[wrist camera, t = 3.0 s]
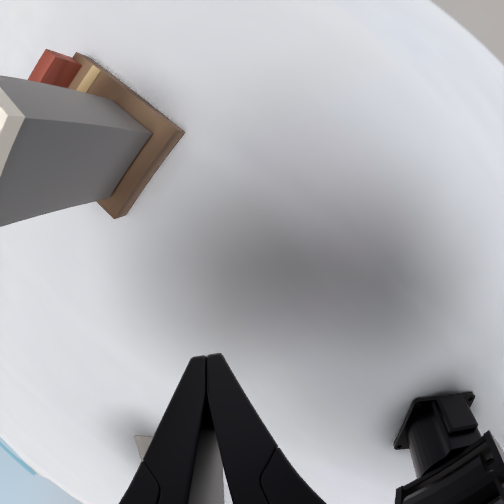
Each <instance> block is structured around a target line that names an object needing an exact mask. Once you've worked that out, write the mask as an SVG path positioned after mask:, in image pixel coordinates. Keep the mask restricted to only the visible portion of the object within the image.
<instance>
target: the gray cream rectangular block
mask: <svg viewBox="0 0 504 504" xmlns="http://www.w3.org/2000/svg"><path fill="white" fill-rule="evenodd" d="M151 135H152V133H151V132H150V131H149V130H147V129H146V128H145V127H144V126H143V125H142V124H140V123H139V122H138V121H137V120H136V119H134V118H133V117H132V116H131V115H130V114H128V113H127V112H126V111H125V110H124V109H122V108H121V107H120V106H119V105H118V104H116V103H115V102H114V101H113V100H111V99H107V98H104V97H100V96H96V95H92V94H88V93H84V92H80V91H76V90H72V89H68V88H63V87H59V86H54V85H50V84H45V83H40V82H35V81H30V80H24V79H19V78H13V77H7V76H0V227H1V226H5V225H8V224H11V223H15V222H18V221H21V220H25V219H28V218H32V217H35V216H39V215H43V214H46V213H50V212H54V211H58V210H62V209H65V208H69V207H73V206H77V205H82V204H86V203H90V202H94V201H99V200H103V199H107V198H109V197H110V196H111V194H112V192H113V191H114V189H115V188H116V186H117V184H118V183H119V181H120V180H121V178H122V177H123V175H124V174H125V172H126V171H127V169H128V168H129V166H130V165H131V163H132V162H133V160H134V159H135V157H136V156H137V154H138V153H139V151H140V150H141V148H142V147H143V146H144V144H145V143H146V141H147V140H148V139H149V137H150V136H151Z"/></svg>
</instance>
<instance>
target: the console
mask: <svg viewBox="0 0 504 504" xmlns="http://www.w3.org/2000/svg"><path fill="white" fill-rule="evenodd" d="M28 80H30V81H35V82H40V83H45V84H50V85H54V86H59V87H63V88H68V89H72V90H76V91H80V92H84V93H88V94H92V95H96V96H100V97H104V98H107V99H111V100H113V101H114V102H115V103H116V104H118V105H119V106H120V107H121V108H122V109H124V110H125V111H126V112H127V113H128V114H130V115H131V116H132V117H133V118H134V119H136V120H137V121H138V122H139V123H140V124H142V125H143V126H144V127H145V128H146V129H147V130H149V131H150V132H151V133H152V135H151V136H150V137H149V139H148V140H147V141H146V143H145V144H144V146H143V147H142V148H141V150H140V151H139V153H138V154H137V156H136V157H135V159H134V160H133V162H132V163H131V165H130V166H129V168H128V169H127V171H126V172H125V174H124V175H123V177H122V178H121V180H120V181H119V183H118V184H117V186H116V188H115V189H114V191H113V192H112V194H111V196H110V197H109V198H107V199H103V200H99V201H97V203H98V204H99V205H100V206H101V207H102V208H103V209H104V210H105V211H106V212H107V213H108V214H109V215H110V216H111V217H113V218H114V219H116V218H119V217H122V216H125V215H126V214H127V212H128V211H129V209H130V208H131V206H132V205H133V203H134V202H135V200H136V199H137V197H138V196H139V194H140V193H141V191H142V190H143V189H144V187H145V186H146V184H147V183H148V181H149V180H150V179H151V177H152V176H153V174H154V173H155V172H156V170H157V169H158V167H159V166H160V165H161V163H162V162H163V161H164V159H165V158H166V157H167V155H168V154H169V153H170V151H171V150H172V149H173V147H174V146H175V145H176V143H177V142H178V141H179V140H180V138H181V137H182V136H183V134H184V133H185V132H184V131H183V130H181V129H180V128H179V127H178V126H177V125H175V124H174V123H173V122H172V121H170V120H169V119H168V118H167V117H165V116H164V115H163V114H162V113H160V112H159V111H158V110H157V109H155V108H154V107H153V106H152V105H150V104H149V103H148V102H147V101H145V100H144V99H143V98H142V97H140V96H139V95H138V94H136V93H135V92H134V91H133V90H131V89H130V88H129V87H127V86H126V85H125V84H123V83H122V82H121V81H120V80H118V79H117V78H116V77H114V76H113V75H112V74H110V73H109V72H108V71H106V70H105V69H104V68H102V67H101V66H100V65H98V64H97V63H96V62H94V61H93V60H92V59H90V58H89V57H87V56H85V55H82V54H80V53H77V52H76V53H75V55H74V56H73V58H71V57H69V56H66V55H63V54H60V53H57V52H54V51H51V50H48V49H46V50H45V51H44V53H43V54H42V56H41V58H40V59H39V61H38V63H37V64H36V66H35V68H34V70H33V71H32V73H31V75H30V77H29V78H28Z"/></svg>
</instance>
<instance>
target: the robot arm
mask: <svg viewBox="0 0 504 504" xmlns="http://www.w3.org/2000/svg"><path fill="white" fill-rule="evenodd" d="M474 399H475V395H474V394H473V393H472V392H469V393H462V394H455V395H447V396H438V397H427V398H418V399H416V400H414V401H413V403H412V405H411V407H410V410H409V412H408V414H407V417H406V419H405V421H404V424H403V426H402V428H401V430H400V432H399V434H398V436H397V439H396V441H395V443H394V449H396V450H400V449H410V452H411V456H412V460H413V464H414V468H415V471H416V475H417V479H416V480H414V481H412V482H411V483H409V484H407V485H405V486H401V487H399V488H397V489H396V497H395V504H504V452H503V450H502V449H501V447H500V445H499V444H498V442H497V441H496V439H495V438H494V436H493V435H492V434H491V432H490V431H487V432H486V433H485V434H484V436H481V434H480V432H479V430H478V428H477V427H478V423H477V421H476V419H475V418H474V416H473V414H472V412H471V410H470V406H471V405H472V403H473V401H474ZM417 404H418V405H417ZM223 468H224V472H225V475H226V479H227V483H228V487H229V491H230V494H231V498H232V501H233V504H326V503H325V502H324V501H323V500H322V499H321V498H320V497H319V496H318V495H317V494H316V493H315V492H314V491H313V490H312V489H311V488H310V487H309V485H308V484H307V483H306V482H305V481H304V480H303V479H302V478H301V477H300V475H299V474H298V473H297V472H296V470H295V469H294V468H293V466H292V465H291V464H290V462H289V461H288V460H287V458H286V457H285V455H284V454H283V452H282V451H281V449H280V448H278V445H277V443H276V442H275V440H274V439H273V437H272V436H271V434H270V433H269V431H268V430H267V428H266V426H265V425H264V423H263V422H262V420H261V419H260V417H259V415H258V414H257V412H256V411H255V409H254V407H253V406H252V404H251V402H250V401H249V399H248V398H247V396H246V394H245V393H244V391H243V389H242V388H241V386H240V384H239V383H238V381H237V379H236V377H235V376H234V374H233V372H232V371H231V369H230V367H229V365H228V364H227V362H226V360H225V359H224V357H223V355H222V354H221V353H216V354H210V355H208V356H207V357H206V356H204V355H203V356H196V357H192V358H191V359H190V361H189V363H188V365H187V368H186V370H185V372H184V374H183V376H182V378H181V380H180V382H179V384H178V386H177V388H176V390H175V392H174V394H173V397H172V399H171V401H170V403H169V405H168V407H167V409H166V411H165V413H164V415H163V417H162V420H161V422H160V424H159V426H158V428H157V430H156V432H155V434H154V436H153V438H152V440H151V443H150V445H149V447H148V449H147V451H146V453H145V455H144V457H143V461H142V462H141V463H140V465H139V468H138V470H137V472H136V474H135V476H134V478H133V480H132V482H131V484H130V486H129V488H128V489H127V491H126V492H125V494H124V496H123V497H122V499H121V501H120V502H119V504H224V485H223Z"/></svg>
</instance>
